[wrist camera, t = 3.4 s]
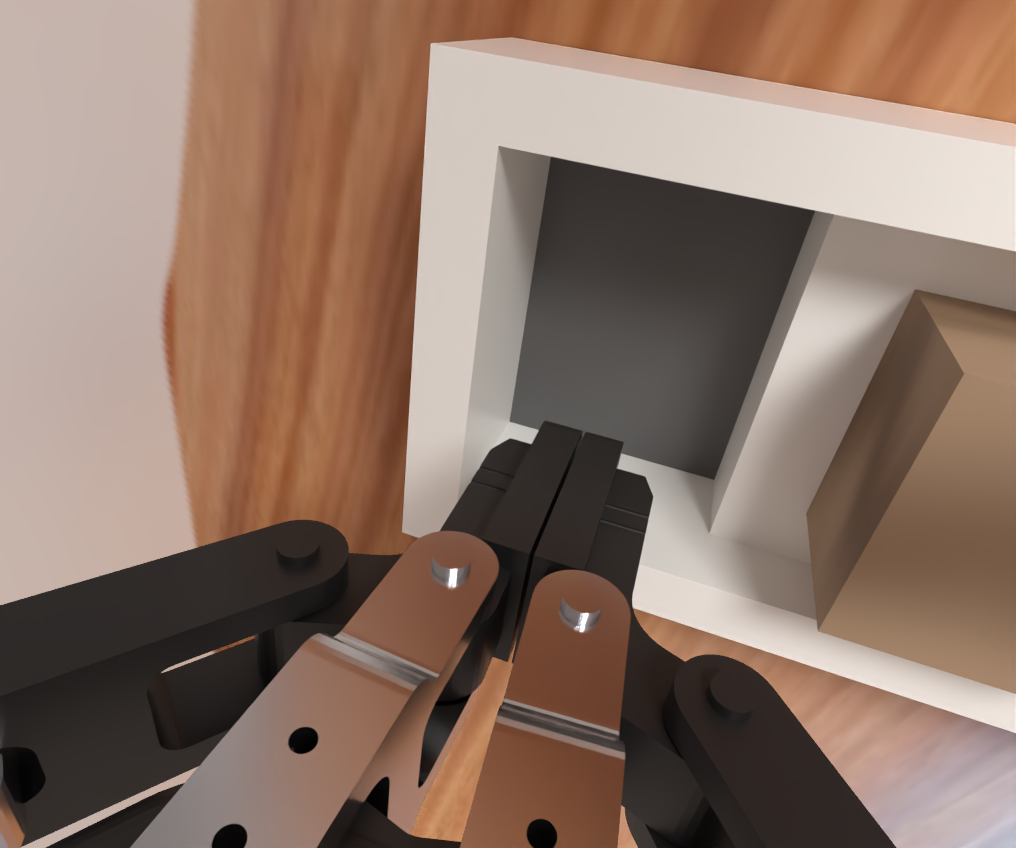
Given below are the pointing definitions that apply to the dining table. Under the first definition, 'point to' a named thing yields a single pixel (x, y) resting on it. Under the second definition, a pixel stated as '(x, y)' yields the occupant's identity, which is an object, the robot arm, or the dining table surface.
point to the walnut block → (927, 498)
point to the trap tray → (690, 306)
